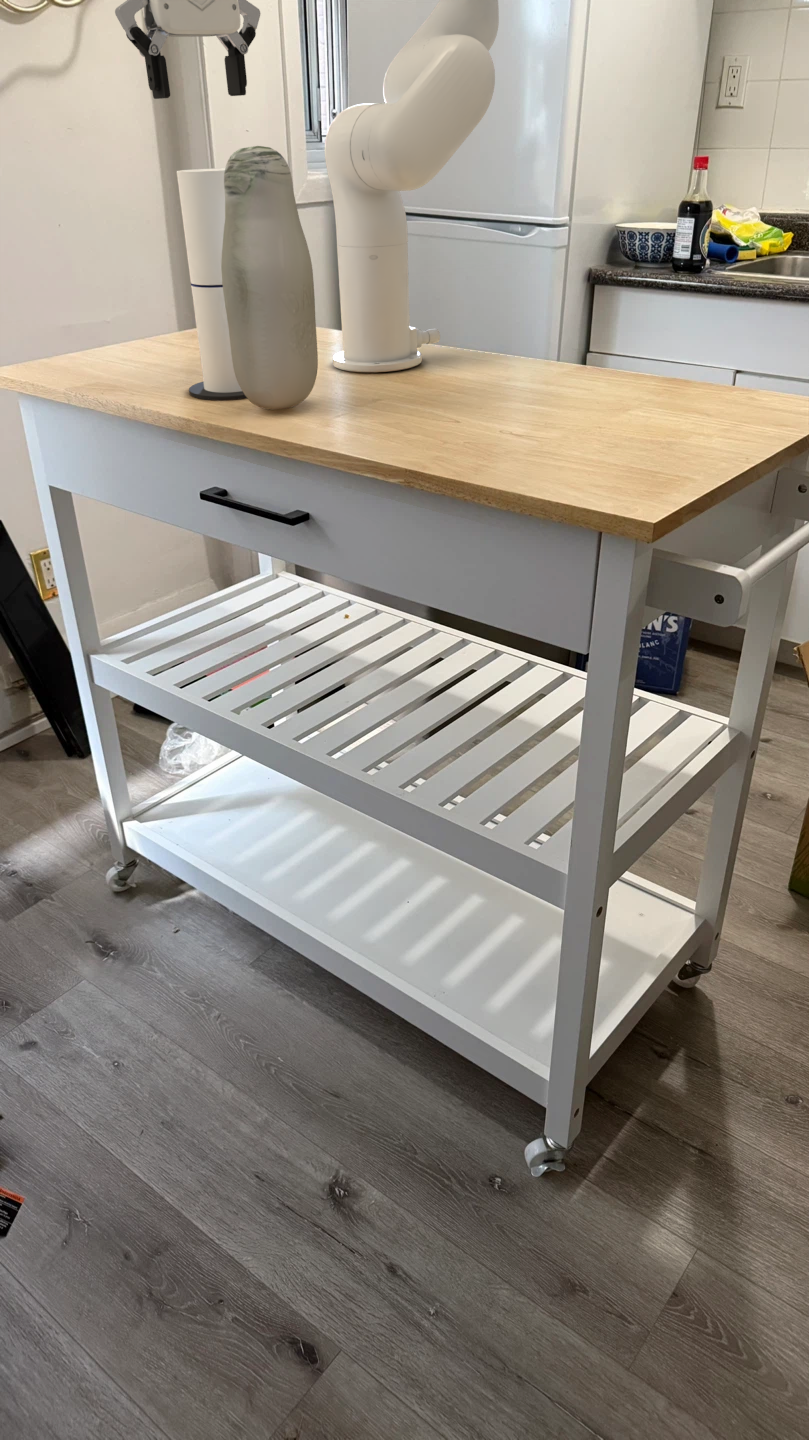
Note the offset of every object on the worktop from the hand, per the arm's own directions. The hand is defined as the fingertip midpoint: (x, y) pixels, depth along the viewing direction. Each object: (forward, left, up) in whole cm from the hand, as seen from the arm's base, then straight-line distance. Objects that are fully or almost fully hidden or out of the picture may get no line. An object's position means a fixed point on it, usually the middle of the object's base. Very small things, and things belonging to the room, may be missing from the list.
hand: (200, 96), depth 118 cm
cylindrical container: (0, 0, -33) cm, 33 cm away
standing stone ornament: (-1, +13, -33) cm, 36 cm away
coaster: (0, 0, -33) cm, 33 cm away
